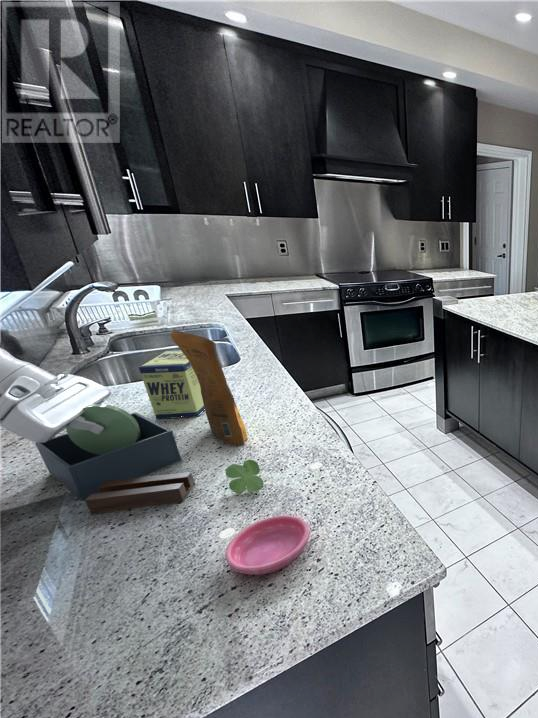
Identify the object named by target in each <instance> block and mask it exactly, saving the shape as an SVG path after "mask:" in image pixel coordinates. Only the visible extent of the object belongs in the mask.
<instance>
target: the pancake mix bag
mask: <svg viewBox="0 0 538 718" xmlns="http://www.w3.org/2000/svg"><path fill="white" fill-rule="evenodd" d="M169 334H170V335H169V336H170V338H171V340H172V342H173V343H174V344H175V345H176V346H177V347H178V349H181V351H182V352H183V354H184V355H185V356H186V358H187V359H188V361H189V362H190V364H191V366H192V368H193V370H194V372H195V374H196V376H197V378H198V381H199V384H200V388H201V395H202V399H203V404H204V408H205V410H204V412H205V416H206V419H207V422H208V425H209V428H210V430H211V432H212V434H214V436H217V438H219V439H220V440H221V441H223V442H224V444H226V445H227V446H241V445H242V446H243V445H246V441H247V440H248V434H247V430H246V429H247V428H246V426H245V423H244V421H243V419H242V415H241V413H240V410H239V409H238V406H237V403H236V400H235V398H234V395H233V393H232V390H231V389H230V386H229V385H228V382H227V377H226V376H225V373H224V370H223V367H222V364H221V360H220V358H219V355H218V350H217V345H216V344H217V342H215V341H213V340H211V339H209V338H207V337H204V336H201V335H197V334H192V333H187V332H183V331H181V330H180V331H179V330H177V329H172V331H171V332H170V333H169Z"/></svg>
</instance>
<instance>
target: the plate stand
mask: <svg viewBox="0 0 538 718" xmlns="http://www.w3.org/2000/svg"><path fill="white" fill-rule="evenodd" d="M195 486H196V481H195V478H194V476H193V472H192V471H185V472H183V471H182V472H174V473H166V474H159V475H149V476H141V477H139V478H131V479H122V480H113V481H105V482H103V483H102V484H101V485H100V486H99V487H98V489H99V491H100V493H94V494H91V495H90V496H89V497H88V498H87V499H86V500H84V502H85V504H86V506H87V509H88V511H89V513H90V514H91V515H94V514H102V513H109V512H117V511H125V510H132V509H133V510H134V509H139V508H140V509H141V508H147V507H155V506H163V505H170V504H177V503H184V502H185V500H186V499H187V497H188V496H189V494H190V493H191V492H192V490H193V488H194V487H195Z"/></svg>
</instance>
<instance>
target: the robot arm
mask: <svg viewBox="0 0 538 718" xmlns="http://www.w3.org/2000/svg"><path fill="white" fill-rule="evenodd" d="M111 395H112V391H111V390H110V388H109V387H107V386H105V385H103V384H101V383H98V382H96V381H93V380H91V379H89V378H86V377H84V376H80V375H75V374H66V373H60V374H58V375H54V374H52V373H50V371H46V370H45V369H43V368H41V367H39V366H37V365H35V364H33V363H31V362H28V361H24V360H21V359H19V358H16V357H15V356H13V355H12V354H11V353H10V352H8V351H7V350H6V349H5V348H4V346H3V343H2V342H1V341H0V425H1V427H2V428H3V429H4V430H6V431H7V432H10V433H11V434H14V435H17V436H18V437H21V438H22V439H25V440H28V441H31V442H32V443H33V442H34V443H38V442H41V443H45V442H47V441H48V440H50V439H51V438H54V437H57V435H59V434H60V433H62V432H63V431H64V430H66V428H67V427H69V426H70V427H72V428H75V429H80V430H89V431H91V432H93V433H95V434H100V433H101V432H102V431H103V430H104V429H105V428H106V425H104V424H102V423H100V422H97V423H94V422H89V421H85V418H83V417H81V416H80V415H81V414H83V413H84V410H82V408H83V407H85V406H88V405H93V404H104V403H105V402H106V401H107V400H108V398H109V397H110V396H111Z"/></svg>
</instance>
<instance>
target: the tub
mask: <svg viewBox="0 0 538 718" xmlns="http://www.w3.org/2000/svg"><path fill="white" fill-rule="evenodd" d="M129 414H130V415H131V416H133V417H134V419H135V420H136V421H137V423H138V425H139V428H140V436H139V439H138V441H137V442H136V443H133V444H131V445H128V446H125V447H122V448H119V449H117V450H114V451H111V452H108V453H105V454H103V455H99V454H94V453H91V452H88V451H86V450H84V449H82V448H80V447H78V446H77V445H76V444H75V443H74V442H73V441H72V440H71V439H70V438H69V436H68V434H67V433H63V434H61V435H58V436H57V435H56V436H54V437H53V438H51V439H50V440H48V441H47V442H45V443H41V442H34V445H35V447H36V449H37V451H38V453H39V454H40V456H41V459H42V461H43V463H44V465H45V467H46V469H47V471H48V474H49V475H50V476H52V477H53V478H54V479H56V481H58V482H59V483H61V484H62V485H63V486H64V487H66V488H67V489H68V490H69V491H71V492H72V494H74V495H75V496H76V497H78V498H79V499H80V500H82V501H84V502H85V500H86V499H87V498H88V497H89V496H90V495H91V494H94V493H100V491H99V489H98V487H99V486H100V485H101V484H102V483H103V482H105V481H113V480H122V479H131V478H139V477H145V476H146V475H148V474H151V473H153V472H155V471H158V470H160V469H162V468H165V467H167V466H170V465H173V464H175V463H176V462H180V461H182V457H181V454H180V451H179V447H178V444H177V441H176V439H175V436H174V432H173V430H172V429H170V428H168V427H166V426H163V425H162V424H159V423H158V422H156V421H154V420H152V419H151V418H149V417H146V416H144V415H143V414H141V413H139V412H137V411H136V412H132V413H129Z"/></svg>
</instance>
